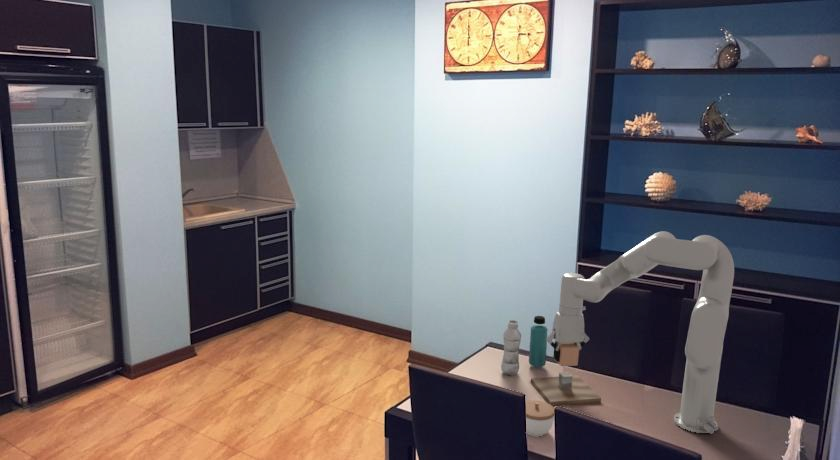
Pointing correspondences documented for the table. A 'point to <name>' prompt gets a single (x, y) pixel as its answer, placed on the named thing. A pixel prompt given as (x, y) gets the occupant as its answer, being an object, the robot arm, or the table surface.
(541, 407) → the lidded jar
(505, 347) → the plastic bottle
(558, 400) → the post board
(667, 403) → the table surface
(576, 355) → the natural wood cube
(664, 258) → the robot arm
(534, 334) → the beverage bottle
